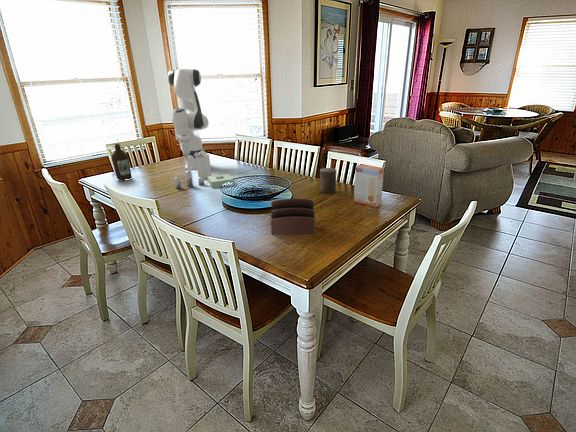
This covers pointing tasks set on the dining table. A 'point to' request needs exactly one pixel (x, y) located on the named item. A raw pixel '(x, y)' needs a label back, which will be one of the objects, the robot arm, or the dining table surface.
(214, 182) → the socket block
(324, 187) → the pillar candle
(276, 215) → the letter holder
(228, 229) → the dining table surface
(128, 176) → the olive oil
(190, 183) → the tall pin
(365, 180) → the cracker box
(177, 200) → the dining table surface
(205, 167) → the milk carton
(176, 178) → the medium pin
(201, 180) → the short pin
